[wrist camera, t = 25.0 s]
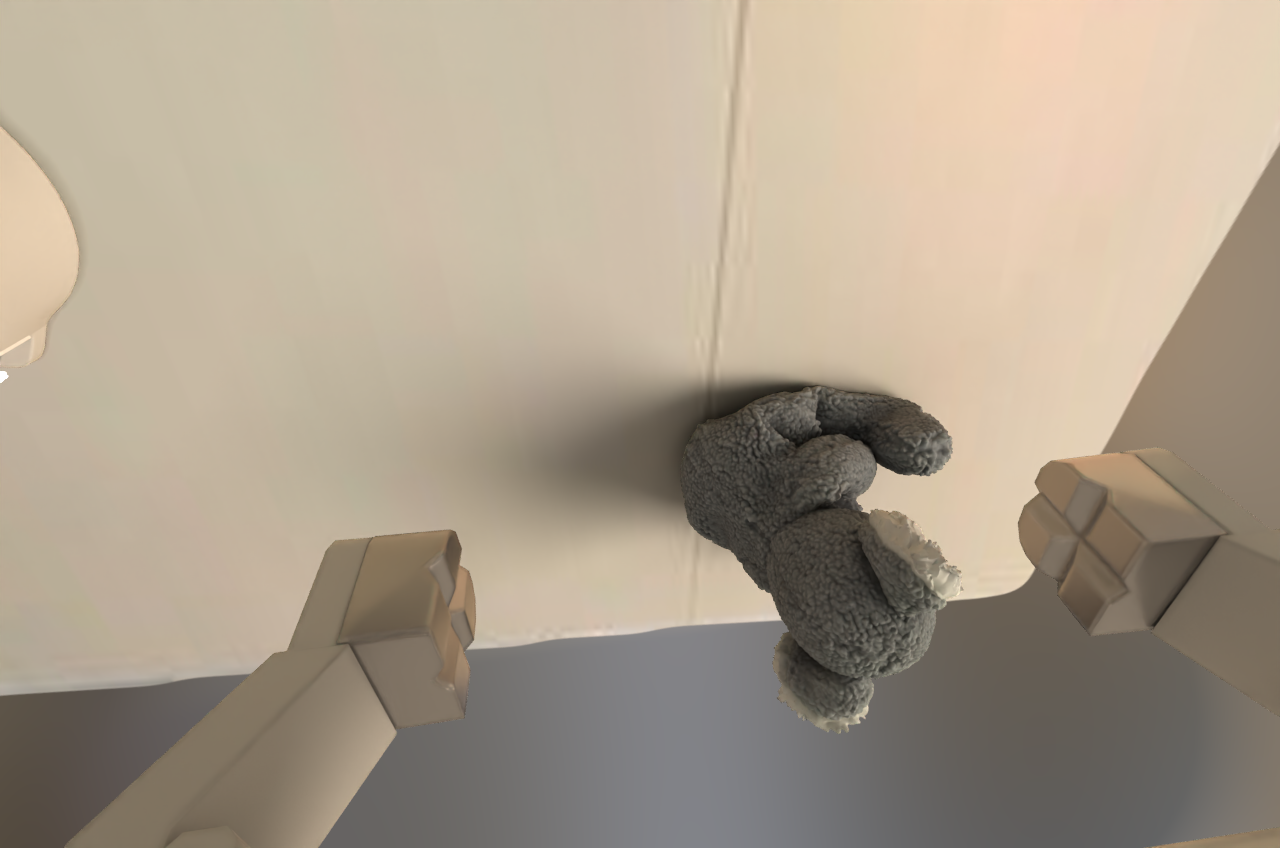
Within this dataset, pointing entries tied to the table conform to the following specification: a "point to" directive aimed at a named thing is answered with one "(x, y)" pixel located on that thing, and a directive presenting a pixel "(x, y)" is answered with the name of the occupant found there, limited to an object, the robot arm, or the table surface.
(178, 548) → the table surface
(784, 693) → the koala plush
